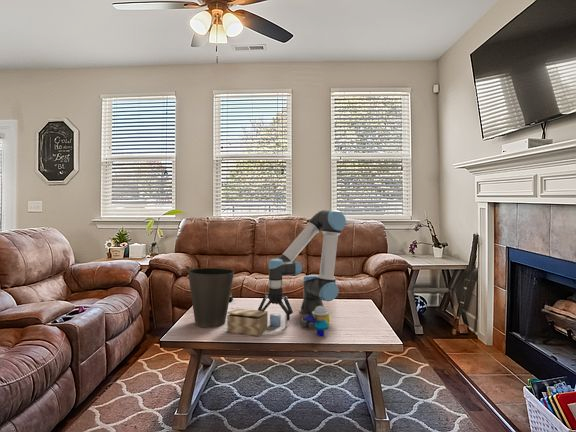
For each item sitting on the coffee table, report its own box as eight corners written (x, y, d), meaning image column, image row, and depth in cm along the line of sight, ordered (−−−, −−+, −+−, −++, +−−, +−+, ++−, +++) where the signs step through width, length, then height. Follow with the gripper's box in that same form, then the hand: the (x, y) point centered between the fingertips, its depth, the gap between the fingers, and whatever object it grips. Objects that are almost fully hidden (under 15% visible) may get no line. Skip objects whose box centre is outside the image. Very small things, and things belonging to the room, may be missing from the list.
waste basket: (239, 319, 215) (239, 268, 214) (226, 331, 195) (226, 275, 194) (197, 316, 221) (196, 267, 220) (180, 327, 201) (180, 273, 200)
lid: (267, 312, 198) (267, 310, 198) (259, 316, 187) (259, 315, 187) (237, 309, 204) (237, 307, 204) (227, 313, 192) (227, 311, 192)
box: (267, 329, 198) (267, 312, 198) (258, 336, 187) (258, 319, 187) (237, 325, 204) (237, 309, 204) (227, 332, 192) (227, 315, 192)
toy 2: (310, 331, 194) (310, 303, 194) (326, 331, 195) (327, 303, 194) (313, 337, 186) (313, 308, 185) (330, 337, 186) (330, 308, 186)
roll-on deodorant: (282, 324, 206) (282, 313, 206) (278, 327, 201) (278, 316, 200) (272, 323, 208) (272, 312, 208) (268, 326, 202) (268, 315, 202)
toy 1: (317, 335, 195) (334, 324, 206) (316, 323, 194) (333, 312, 205) (298, 329, 205) (315, 318, 215) (297, 317, 204) (314, 307, 214)
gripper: (298, 287, 203) (298, 325, 204) (257, 284, 211) (257, 320, 212) (294, 290, 196) (294, 329, 197) (252, 286, 204) (252, 324, 205)
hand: (275, 324), depth 204 cm, fingers open, 13 cm apart
